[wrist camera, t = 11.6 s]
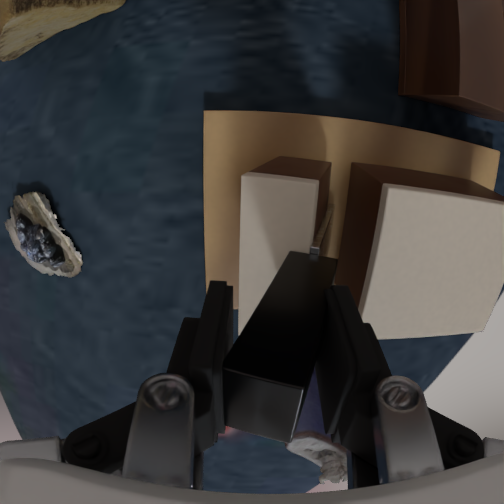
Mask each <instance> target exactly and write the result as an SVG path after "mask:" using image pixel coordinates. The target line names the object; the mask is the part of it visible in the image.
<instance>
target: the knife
mask: <svg viewBox="0 0 504 504" xmlns="http://www.w3.org/2000/svg"><path fill="white" fill-rule="evenodd" d="M334 211H335V204H331V203H329V204H328V207H327V209H326V212H325V214H324V216H323V219H322V221H321V223H320V226H319V228H318V230H317V232H316V235H315V237H314V239H313V241H312V244H311V246H310V251H309V254H307V253H302V252H296V251H289V253H288V255H287V256H286V258H285V260H284V262H283V263H282V265H281V267H280V268H279V270H278V272H277V273H276V275H275V277H274V279H273V280H272V282H271V284H270V285H269V287H268V289H267V290H266V292H265V294H264V295H263V297H262V299H261V300H260V302H259V304H258V305H257V307H256V309H255V310H254V312H253V314H252V315H251V317H250V319H249V320H248V322H247V324H246V325H245V327H244V328H243V330H242V332H241V333H240V335H239V337H238V338H237V340H236V342H235V343H234V345H233V346H232V348H231V350H230V351H229V353H228V354H227V356H226V358H225V359H224V361H223V365H222V380H223V405H224V425H226V426H229V427H232V428H235V429H238V430H242V431H245V432H248V433H252V434H255V435H259V436H263V437H266V438H270V439H274V440H278V441H282V442H286V443H291V442H292V440H293V437H294V434H295V431H296V428H297V425H298V422H299V418H300V415H301V412H302V409H303V406H304V402H305V399H306V395H307V392H308V389H309V385H310V382H311V378H312V375H313V371H314V367H315V364H316V360H317V356H318V351H319V346H320V342H321V337H322V332H323V328H324V323H325V318H326V313H327V307H328V304H327V300H326V296H325V293H324V290H325V289H330V286H331V285H334V282H335V276H336V270H337V265H338V259H336V258H330V257H327V256H328V252H329V248H330V241H331V234H332V226H333V219H334Z"/></svg>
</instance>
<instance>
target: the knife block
mask: <svg viewBox="0 0 504 504" xmlns="http://www.w3.org/2000/svg"><path fill="white" fill-rule="evenodd" d="M399 12H400V64H399V88H398V95H399V96H404V97H408V98H413V99H417V100H421V101H425V102H429V103H433V104H437V105H441V106H444V107H448V108H451V109H455V110H458V111H461V112H465V113H468V114H471V115H474V116H477V117H480V118H485V119H491V120H496V121H501V122H504V0H399Z"/></svg>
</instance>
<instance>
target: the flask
mask: <svg viewBox="0 0 504 504" xmlns="http://www.w3.org/2000/svg"><path fill="white" fill-rule="evenodd" d="M285 446H286V448H287V449H288V450H289V451H291V452H292V453H295V454H298V455H299V456H302V457H305V458H306V459H308V460H310V461H312V462H314V463H316V464H317V465H319V466H320V467H321V469H320V471H321V472H322V473H324V474H322V475H321V476H319V481H320V484H324V481H326V480H330V481H331V482H332V483H339V482H340V479H343V481H347V480H348V476H347V457H346V452H347V449H346V448H345V447H343V446H342V445H341V443H332V441H331V434H325V430H324V424H323V417H322V410H321V404H320V397H319V391H318V385H317V379H316V373H315V367H314V371H313V375H312V378H311V382H310V385H309V389H308V392H307V395H306V399H305V402H304V406H303V409H302V412H301V415H300V418H299V422H298V425H297V428H296V431H295V434H294V437H293V440H292V442H291V443H286V442H285Z"/></svg>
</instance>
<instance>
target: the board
mask: <svg viewBox="0 0 504 504" xmlns="http://www.w3.org/2000/svg"><path fill="white" fill-rule="evenodd" d="M279 156H286V157H295V158H304V159H312V160H320V161H327V162H332V167H331V177H330V187H329V196H328V204H329V203H331V204H335V211H334V219H333V226H332V234H331V241H330V248H329V252H328V256H327V257H330V258H336V259H338V258H339V251H340V245H341V239H342V232H343V225H344V218H345V211H346V204H347V196H348V188H349V179H350V170H351V163H352V162H358V163H367V164H375V165H383V166H390V167H398V168H405V169H411V170H418V171H424V172H430V173H436V174H442V175H447V176H453V177H458V178H463V179H468V180H472V181H474V182H476V183H478V184H480V185H482V186H484V187H486V188H488V189H490V190H492V191H494V186H495V181H496V175H497V170H498V163H499V157H500V151H497V150H494V149H491V148H488V147H484V146H481V145H477V144H474V143H470V142H466V141H462V140H458V139H454V138H450V137H446V136H442V135H438V134H433V133H429V132H424V131H419V130H414V129H409V128H404V127H399V126H393V125H388V124H382V123H375V122H369V121H362V120H355V119H347V118H339V117H330V116H321V115H311V114H299V113H285V112H267V111H238V110H205V111H204V143H203V180H204V240H205V271H206V294H207V290H208V287H209V283H210V280H215V281H227V285H229V286H233V309H239V254H240V208H241V176H242V175H243V174H245V173H247V172H249V171H251V170H253V169H255V168H257V167H259V166H261V165H263V164H265V163H267V162H269V161H270V160H272V159H274V158H276V157H279ZM327 207H328V205H327ZM334 285H335V282H334Z"/></svg>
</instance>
